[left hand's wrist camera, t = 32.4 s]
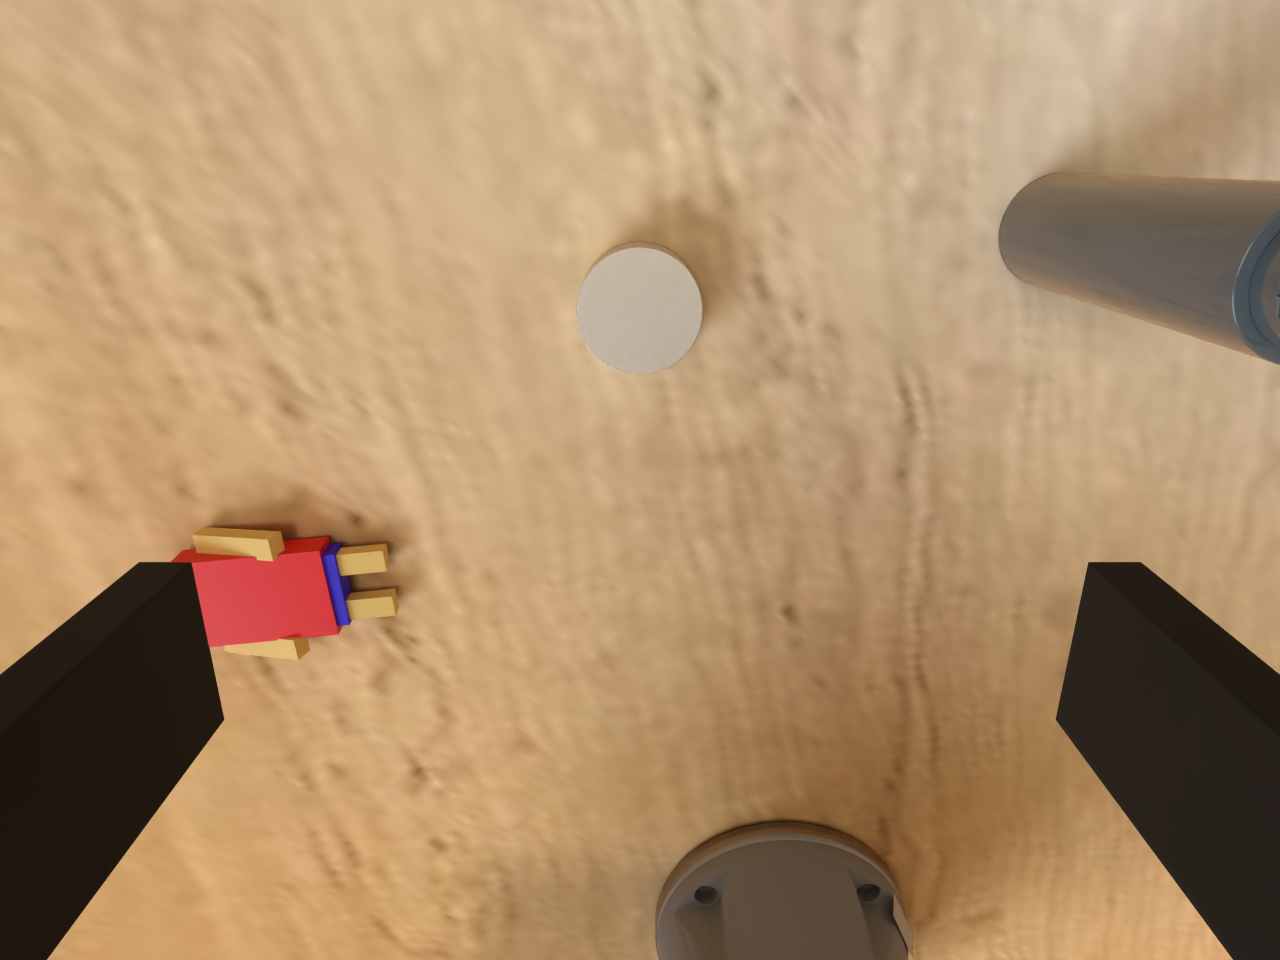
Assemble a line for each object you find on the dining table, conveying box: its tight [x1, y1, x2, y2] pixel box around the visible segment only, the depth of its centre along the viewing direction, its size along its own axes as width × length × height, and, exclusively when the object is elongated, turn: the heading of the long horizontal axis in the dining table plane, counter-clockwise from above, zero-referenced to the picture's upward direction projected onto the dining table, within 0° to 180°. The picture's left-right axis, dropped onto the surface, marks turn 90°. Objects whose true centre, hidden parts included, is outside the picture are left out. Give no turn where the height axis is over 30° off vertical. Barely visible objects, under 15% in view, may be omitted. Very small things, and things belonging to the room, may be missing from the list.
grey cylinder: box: [999, 173, 1280, 365], centre depth 30 cm, size 5×5×18 cm
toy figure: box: [171, 527, 399, 660], centre depth 44 cm, size 2×7×12 cm
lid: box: [576, 242, 703, 374], centre depth 39 cm, size 6×6×2 cm
